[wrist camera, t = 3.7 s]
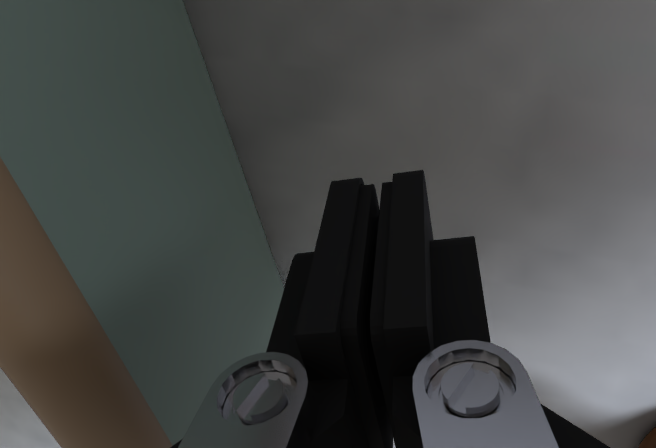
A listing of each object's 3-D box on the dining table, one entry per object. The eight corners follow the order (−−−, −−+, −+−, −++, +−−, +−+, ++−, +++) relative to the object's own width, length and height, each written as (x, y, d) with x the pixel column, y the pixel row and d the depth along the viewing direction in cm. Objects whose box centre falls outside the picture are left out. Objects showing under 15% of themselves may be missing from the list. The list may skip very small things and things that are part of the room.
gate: (44, -188, 11) (-571, -228, 4) (117, -213, 11) (-426, -302, 4) (268, 361, 19) (184, 661, 12) (314, 357, 19) (255, 665, 12)
